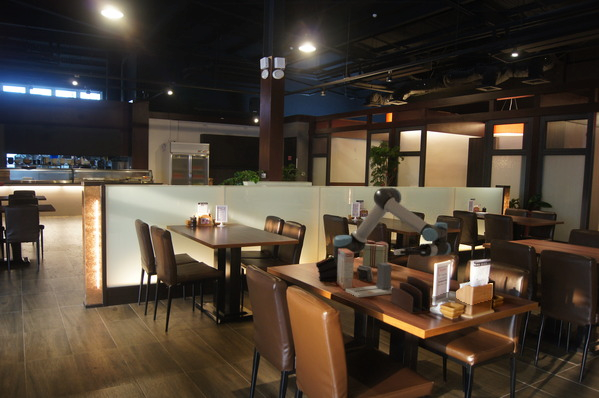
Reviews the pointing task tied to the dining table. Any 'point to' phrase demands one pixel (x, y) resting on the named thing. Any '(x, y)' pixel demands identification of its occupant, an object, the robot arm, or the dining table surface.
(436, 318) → the dining table surface
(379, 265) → the slider knob
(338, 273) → the cracker box
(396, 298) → the letter holder
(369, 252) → the gift box
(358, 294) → the switch board
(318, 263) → the black piece
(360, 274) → the electrical switch
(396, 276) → the dining table surface
